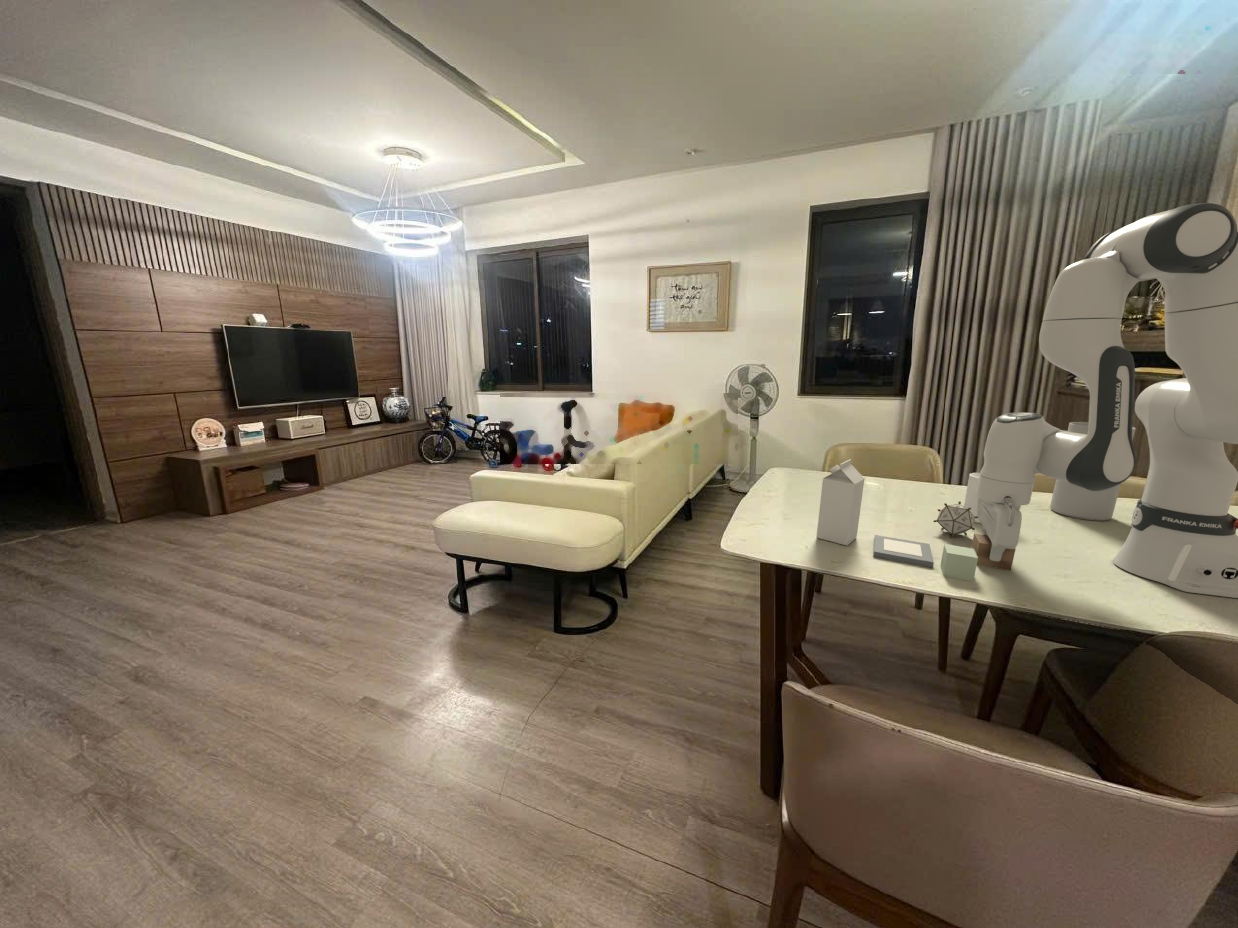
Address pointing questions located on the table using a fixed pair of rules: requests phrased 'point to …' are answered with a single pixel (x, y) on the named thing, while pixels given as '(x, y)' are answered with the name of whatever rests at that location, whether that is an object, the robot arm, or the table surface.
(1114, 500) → the cylinder vase
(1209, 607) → the table surface
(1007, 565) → the walnut block
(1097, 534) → the table surface
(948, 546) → the sage cube
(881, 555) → the board
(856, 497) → the milk carton
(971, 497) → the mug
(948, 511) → the game die
